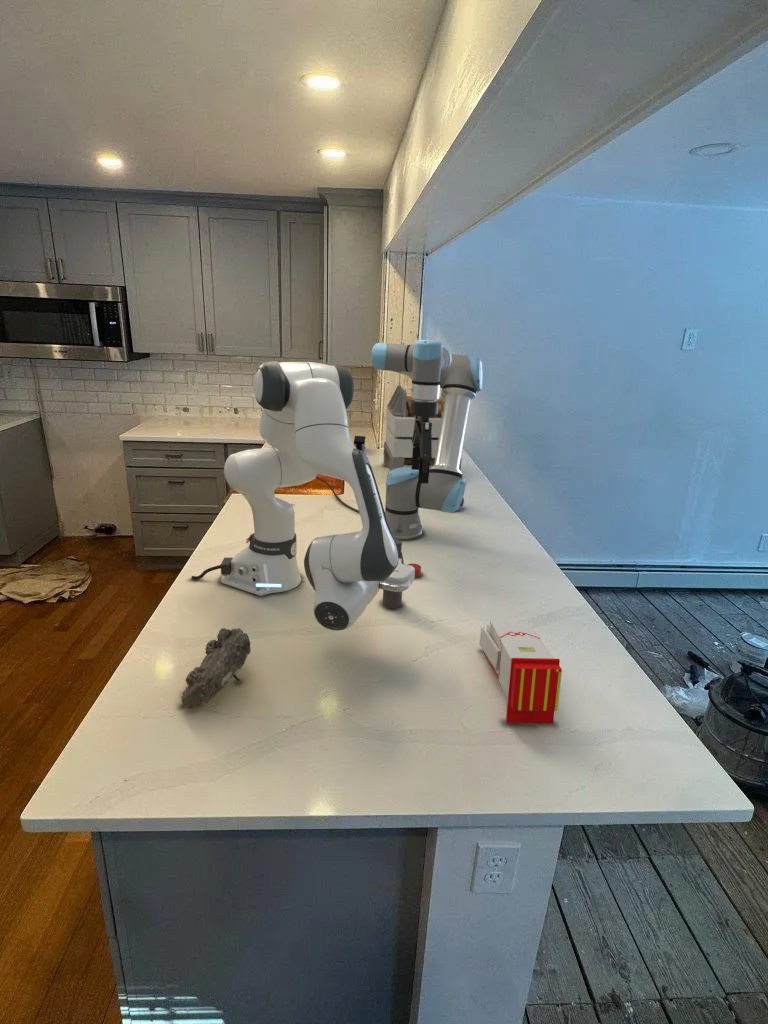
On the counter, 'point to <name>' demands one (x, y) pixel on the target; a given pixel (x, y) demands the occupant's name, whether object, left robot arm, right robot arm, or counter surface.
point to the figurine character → (359, 442)
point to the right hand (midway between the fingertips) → (419, 476)
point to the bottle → (392, 597)
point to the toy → (523, 670)
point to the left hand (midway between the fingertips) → (379, 557)
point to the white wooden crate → (406, 430)
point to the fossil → (216, 667)
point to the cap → (416, 569)
